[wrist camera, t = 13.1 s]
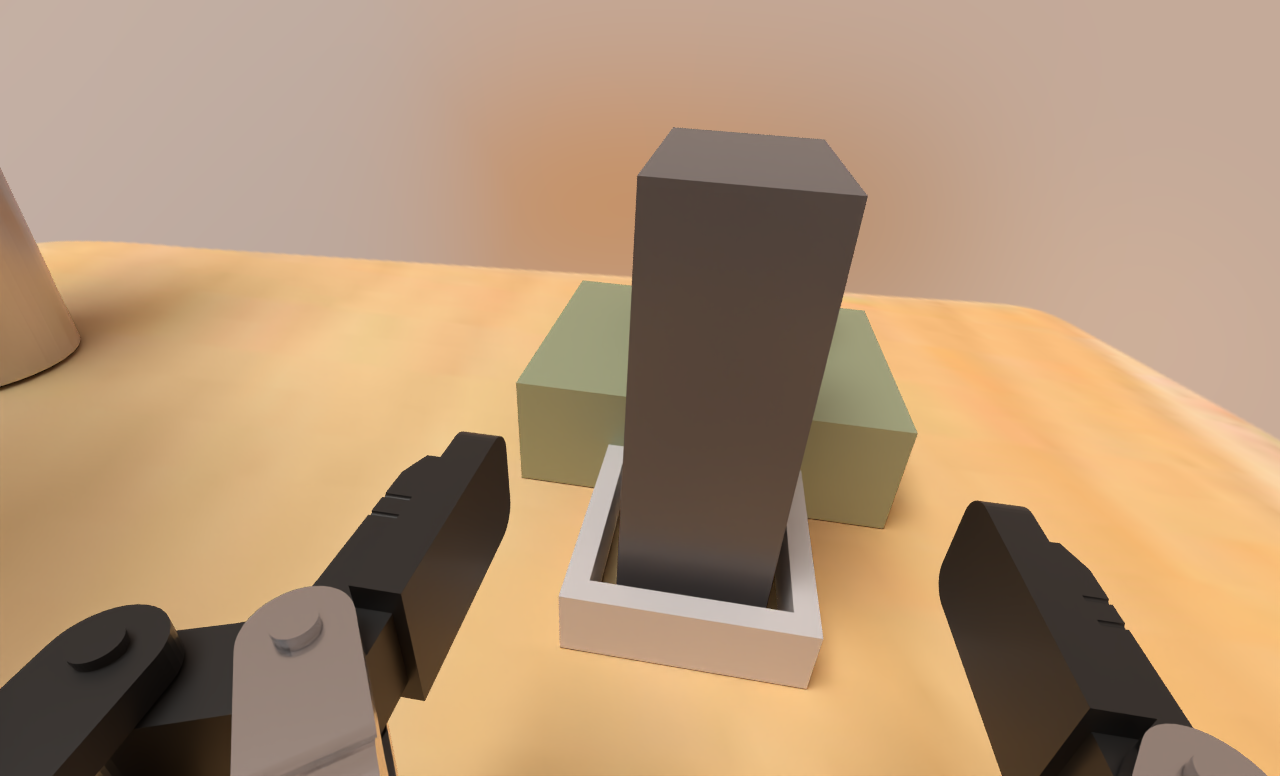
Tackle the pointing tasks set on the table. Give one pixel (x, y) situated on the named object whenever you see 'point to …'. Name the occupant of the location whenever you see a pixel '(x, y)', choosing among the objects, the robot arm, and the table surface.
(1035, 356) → the table surface
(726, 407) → the dark grey angled block
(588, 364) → the green block with cylinder
